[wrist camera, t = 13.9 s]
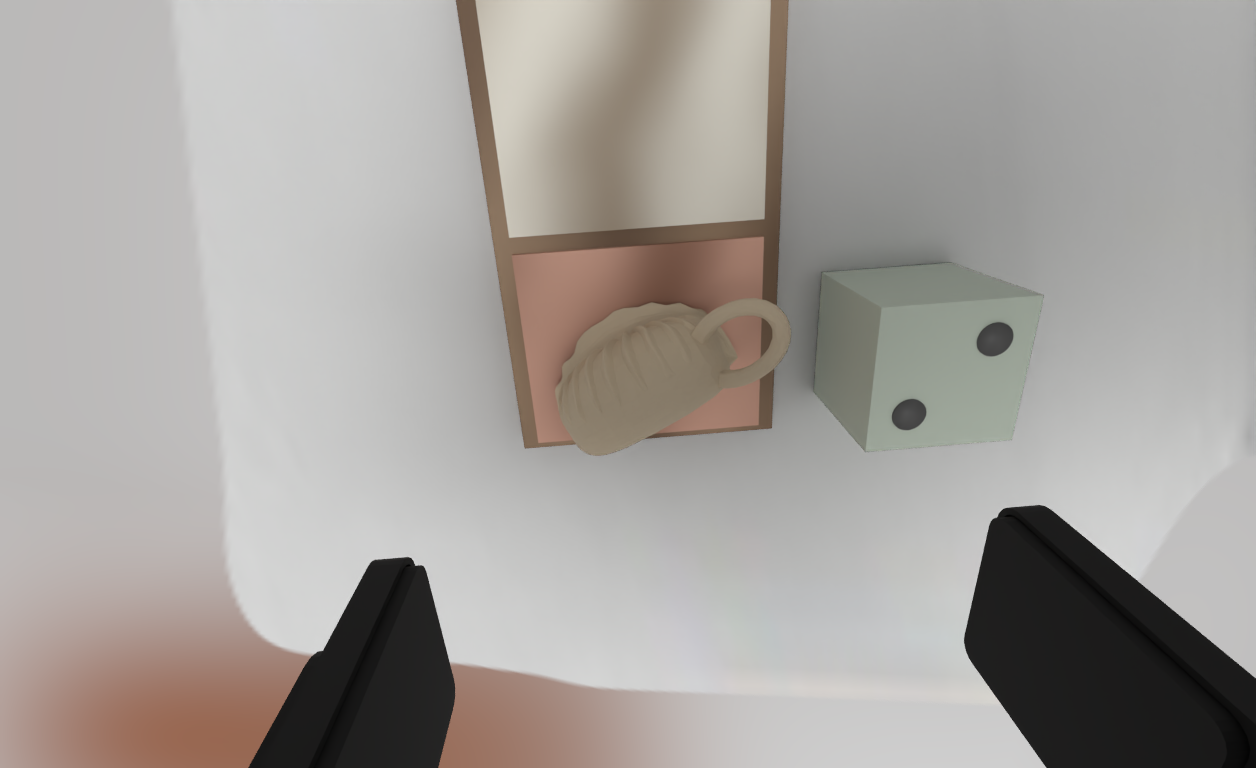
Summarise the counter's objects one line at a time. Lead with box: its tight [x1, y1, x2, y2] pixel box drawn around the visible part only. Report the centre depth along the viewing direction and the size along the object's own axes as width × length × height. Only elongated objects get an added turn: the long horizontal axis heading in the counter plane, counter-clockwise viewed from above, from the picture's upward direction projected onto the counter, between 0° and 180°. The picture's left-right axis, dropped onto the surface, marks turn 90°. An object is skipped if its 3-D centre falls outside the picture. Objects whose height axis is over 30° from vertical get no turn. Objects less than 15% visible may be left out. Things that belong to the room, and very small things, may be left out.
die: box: [814, 263, 1044, 452], centre depth 21 cm, size 5×5×5 cm
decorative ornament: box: [555, 298, 791, 456], centre depth 19 cm, size 4×8×5 cm, turn 119°
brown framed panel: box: [456, 0, 788, 448], centre depth 21 cm, size 10×16×1 cm, turn 4°
